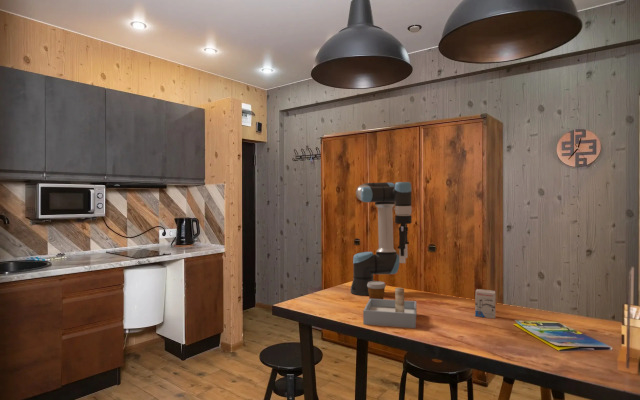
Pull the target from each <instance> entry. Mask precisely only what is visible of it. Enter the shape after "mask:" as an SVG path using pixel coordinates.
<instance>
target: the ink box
mask: <svg viewBox="0 0 640 400" xmlns="http://www.w3.org/2000/svg"><path fill="white" fill-rule="evenodd" d="M496 293H497V292H496V290H490V289H480V288H479V289H478V288H477V289H475V293H474V294H475V295H474V296H475V297H474V298H475V299H474V301H475V303H474V304H475V305H474V306H475V307H474V308H475V311H474V312H475V314H474V316H475V317H479V318H485V317H486V319H493V318H494V320H495V319H496V313H497V311H496V308H497V307H496V304H497V303H496V297H497V296H496V295H497V294H496Z"/></svg>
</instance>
